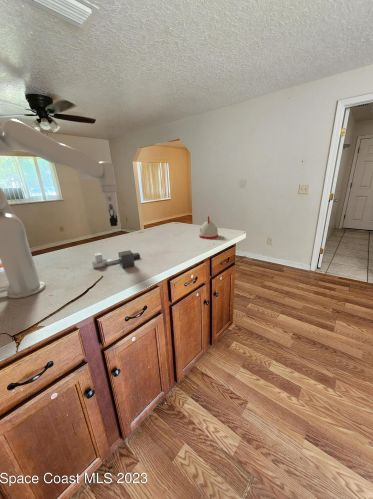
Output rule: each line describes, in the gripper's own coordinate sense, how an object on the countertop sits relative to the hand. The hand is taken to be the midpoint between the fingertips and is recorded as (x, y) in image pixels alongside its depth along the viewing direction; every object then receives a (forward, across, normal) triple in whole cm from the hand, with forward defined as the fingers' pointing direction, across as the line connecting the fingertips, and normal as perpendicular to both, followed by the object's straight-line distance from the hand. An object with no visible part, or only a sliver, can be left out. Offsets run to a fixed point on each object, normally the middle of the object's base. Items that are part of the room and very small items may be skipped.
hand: (114, 224), depth 105 cm
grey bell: (+22, +28, -64) cm, 73 cm away
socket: (+21, -8, -3) cm, 22 cm away
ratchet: (+21, -1, +2) cm, 21 cm away
